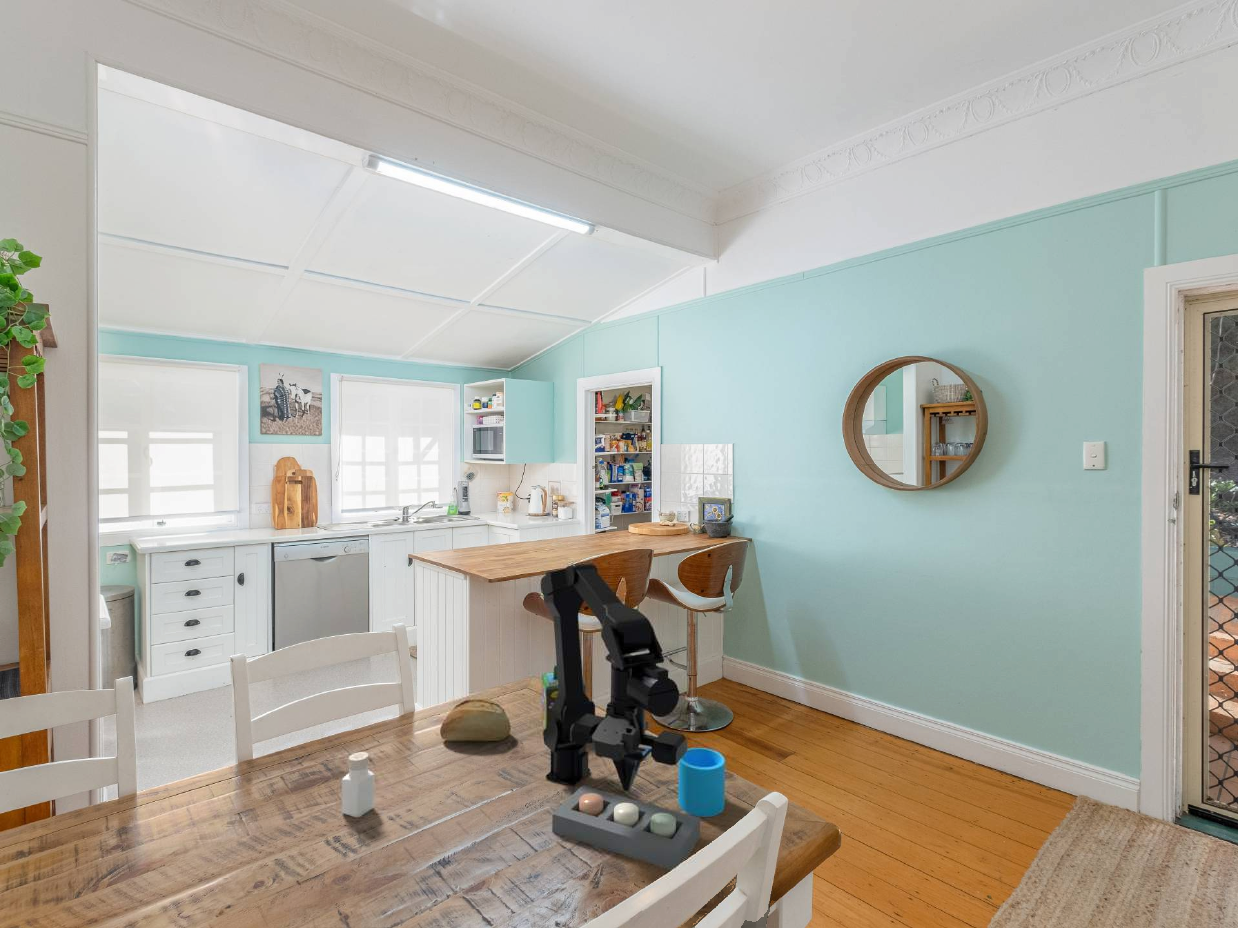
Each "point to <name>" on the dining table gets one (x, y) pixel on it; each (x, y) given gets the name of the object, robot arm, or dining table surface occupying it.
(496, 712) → the bread roll
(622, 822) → the cream button
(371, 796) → the pepper shaker
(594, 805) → the terracotta button
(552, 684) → the chalk box
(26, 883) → the dining table surface
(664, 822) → the sage button
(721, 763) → the mug
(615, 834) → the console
